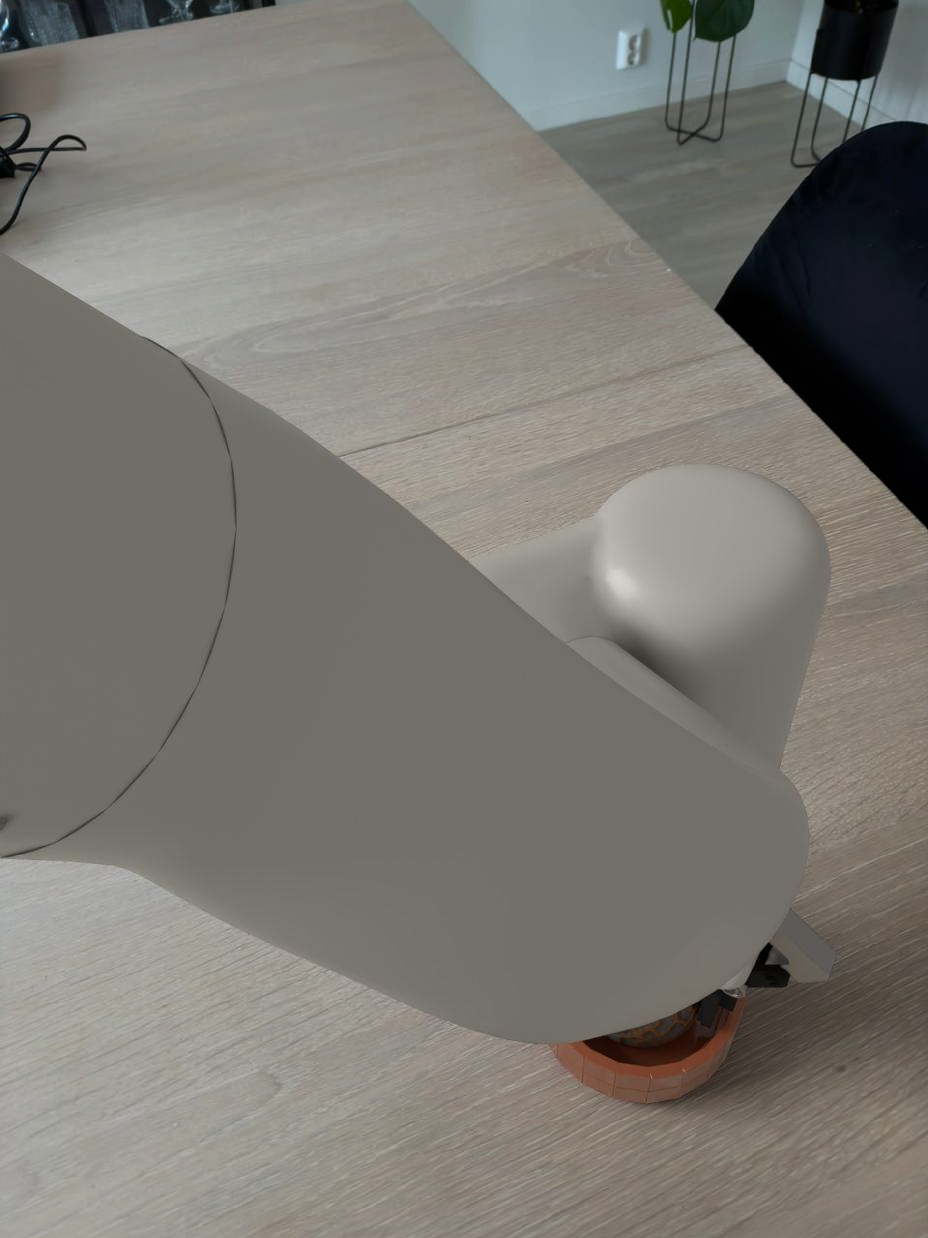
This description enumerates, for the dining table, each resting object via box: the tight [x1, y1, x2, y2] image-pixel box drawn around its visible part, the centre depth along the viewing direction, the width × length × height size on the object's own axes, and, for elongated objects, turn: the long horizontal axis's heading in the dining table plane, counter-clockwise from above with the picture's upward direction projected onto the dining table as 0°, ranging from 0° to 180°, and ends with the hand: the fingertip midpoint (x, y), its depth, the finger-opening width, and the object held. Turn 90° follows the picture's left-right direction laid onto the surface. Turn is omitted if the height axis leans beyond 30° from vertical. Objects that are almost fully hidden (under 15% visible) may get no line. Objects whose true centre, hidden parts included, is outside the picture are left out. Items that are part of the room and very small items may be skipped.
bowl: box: [548, 993, 747, 1104], centre depth 56 cm, size 10×10×4 cm
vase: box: [605, 999, 703, 1048], centre depth 54 cm, size 7×7×9 cm
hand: (641, 965), depth 54 cm, fingers closed on vase, 6 cm apart
